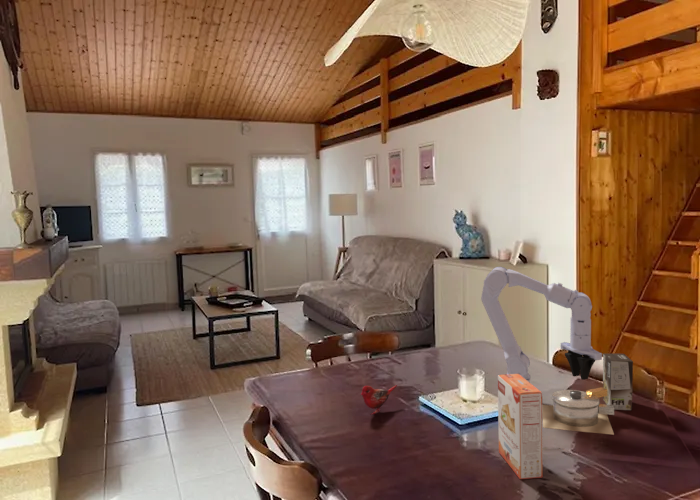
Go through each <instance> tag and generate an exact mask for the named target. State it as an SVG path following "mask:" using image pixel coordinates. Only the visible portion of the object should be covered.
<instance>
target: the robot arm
mask: <svg viewBox="0 0 700 500" xmlns="http://www.w3.org/2000/svg"><path fill="white" fill-rule="evenodd" d="M507 284H508V288H511V287H517V286H519V287H523V288H526V289H527V290H531V291H532V292H533V291H534V292H536V293H539V294H541V295H543V296H544V298H545V300H546V301H548V302H551V303H553V304H555V305H558V306H561V307H563V308H564V309H565V308H566V309H570V310H571V317H570V331H569V332H570V333H569V334H570V336H569V338H570V342H565V341H564V342H560V350H565V351H567V352H565V353H564V356H565V358H566V360H567V363H568V364H569V367H570V371H571V375H572V377H580V379H581V380H582V381H583V380H588V378H589V375H590V372H591V369H592V368H593V366H594V363H595V362H596V361H600V360H602V359H603V353H602V352H600V351H598V350H596V349H594V348H593V346H592V340H591V339H592V319H591V317H592V316H591V315H592V313H591V311H592V308H593V305H592V301H591V298H590V297H589V296H588V295H587V294H586V293H584V292H579V290H577V289H574V290H573V289H570V288H568V287H565V286H563V283H561V282H558V283H555V282H553V283H550V284H546V283H544V282H542V281H540V280H537V279H536V278H533V277H531V276H528V275H526V274H525V273H522V272H519V271H517V270H514V269H512V268H506V267H504V266H496V267H494V268H493V269H492V270H491V271H489V273H488V274H487V275H486V277H485V279H484V280H483V286H482V291H481V292H482V293H481V299H480V301H481V302H482V304H483V307H484V309H485V312H486V314H487V316H488V318H489V321H490V322H491V326H492V328H493V330H494V333H495V335H496V336H497V339H498V342H499V343H500V346H501V348H502V350H503V355H504V360H505V362H506V371H507V373H506V374H519V375H521V376H522V377H523V378H524V379H526V380H527V381H528V382H529V383H531V374H529V367H530V363H531V362H530V358H529V357H528V355H527V354H525V353H524V351H523V350H522V348H521V346H520V345H519V344H518V342H517V340H516V337H515V335H514V333H513V331H512V328H511V325H510V323H509V321H508V319H507V316H506V315H505V311H504V310H503V308H502V305H501V303H500V301H499V296H500V295H501V293H502V290H503V289H504V288H505V287H506V286H507ZM602 361H603V360H602Z"/></svg>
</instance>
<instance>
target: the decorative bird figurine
mask: <svg viewBox="0 0 700 500" xmlns="http://www.w3.org/2000/svg"><path fill="white" fill-rule="evenodd" d="M397 386H398V384H395V385H394V386H392V387H390V388H389V389H388V390H387V389H380V388H379V389H378V388H377V389H376V388H373V387H372V386H370V385H366V384H365V385H364V386H363V387H362V389H361V393H360V396H362V398H363V402H364V404H365V406H367V407H368V408H369V409H373V410H375V409H376V410H375V411H373V413H370V414H369V415H370V416H371V415H376V414H377V413H379V412H380V411H381V409H380V408H381V407H382V406H383V405H385V403H386V402H387V400H388V399H389V396H390V394H391V393H392V392H393V391H394V390H395V389H396V388H397Z"/></svg>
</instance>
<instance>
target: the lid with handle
mask: <svg viewBox="0 0 700 500" xmlns="http://www.w3.org/2000/svg"><path fill="white" fill-rule="evenodd" d="M551 395H552V399H551V400H552V401H554V402H555V403H557V404H559V405H562V406H565V407H569V408H576V409H590V408H595V407H597V406H599V404H601V403H600V398H603V397H605V396H607V389H605V388H603V386H602V387H601V386H600V387H596V388H591V389H587V390H585V391H581V390H576V389H575V390H574V389H562V390H557V391H555V392H553V393H552V394H551Z"/></svg>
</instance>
